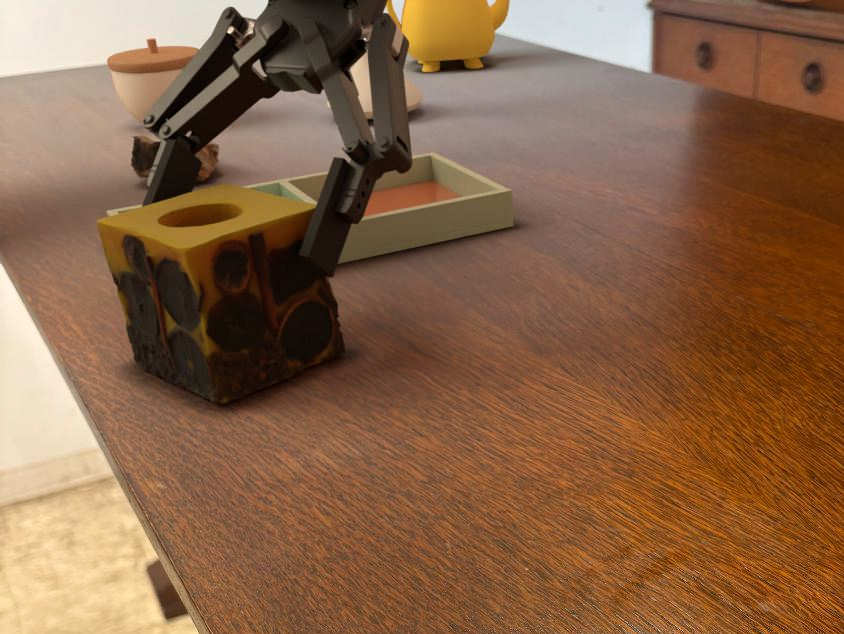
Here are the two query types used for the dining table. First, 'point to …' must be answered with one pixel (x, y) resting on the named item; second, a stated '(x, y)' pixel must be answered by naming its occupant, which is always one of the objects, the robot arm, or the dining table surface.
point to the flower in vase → (363, 86)
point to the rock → (148, 150)
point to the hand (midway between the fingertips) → (229, 253)
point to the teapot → (449, 29)
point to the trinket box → (147, 74)
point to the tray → (409, 206)
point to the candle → (221, 290)
